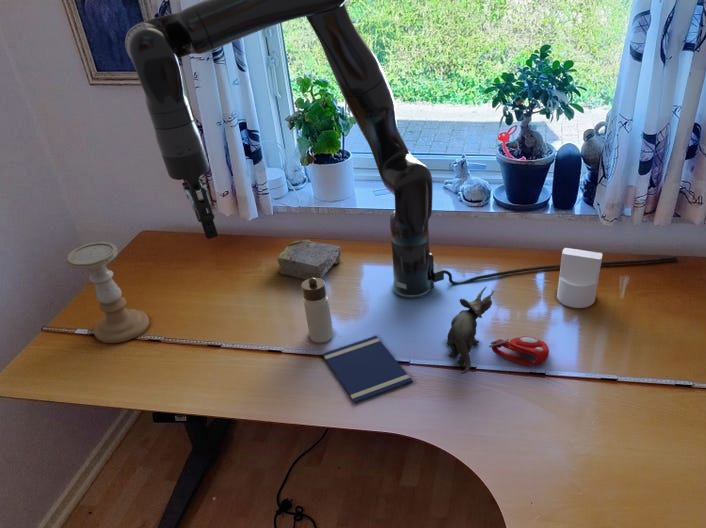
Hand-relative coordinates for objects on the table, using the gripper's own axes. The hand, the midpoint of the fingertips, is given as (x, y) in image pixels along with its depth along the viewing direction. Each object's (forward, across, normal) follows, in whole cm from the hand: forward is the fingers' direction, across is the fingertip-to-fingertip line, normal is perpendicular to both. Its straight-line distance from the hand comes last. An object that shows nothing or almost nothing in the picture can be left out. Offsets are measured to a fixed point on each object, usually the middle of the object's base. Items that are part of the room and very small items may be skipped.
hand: (208, 228), depth 124 cm
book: (+30, -22, -21) cm, 42 cm away
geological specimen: (+29, +24, -24) cm, 45 cm away
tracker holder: (+32, -33, -52) cm, 69 cm away
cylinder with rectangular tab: (+32, -21, -76) cm, 85 cm away
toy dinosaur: (+31, -27, -41) cm, 58 cm away
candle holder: (+27, +20, +24) cm, 42 cm away
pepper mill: (+29, -6, -16) cm, 34 cm away
